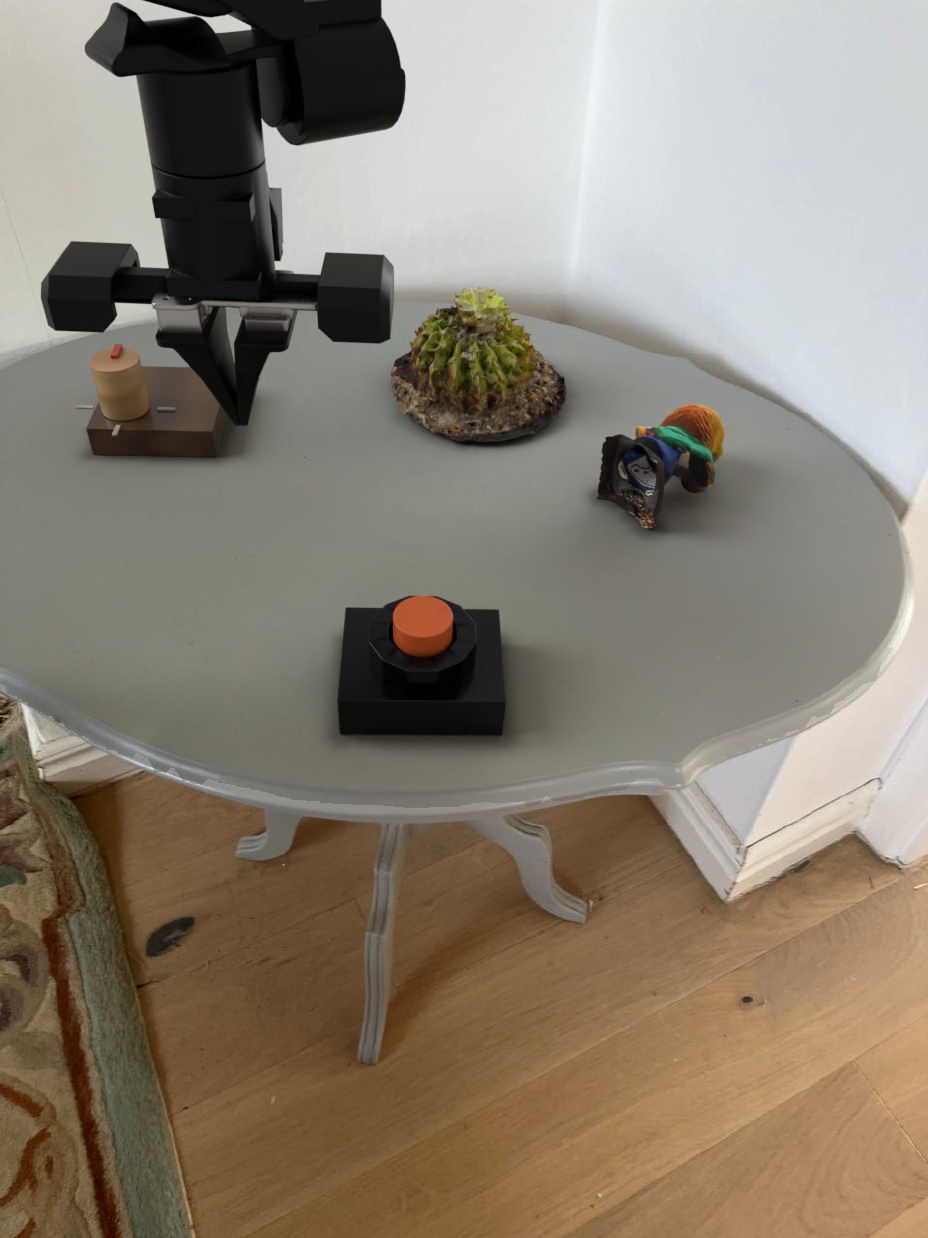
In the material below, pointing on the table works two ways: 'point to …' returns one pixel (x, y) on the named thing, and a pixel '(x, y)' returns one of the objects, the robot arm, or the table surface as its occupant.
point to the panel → (164, 419)
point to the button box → (421, 677)
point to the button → (422, 626)
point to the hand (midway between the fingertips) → (242, 422)
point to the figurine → (661, 460)
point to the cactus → (476, 373)
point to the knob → (119, 383)
